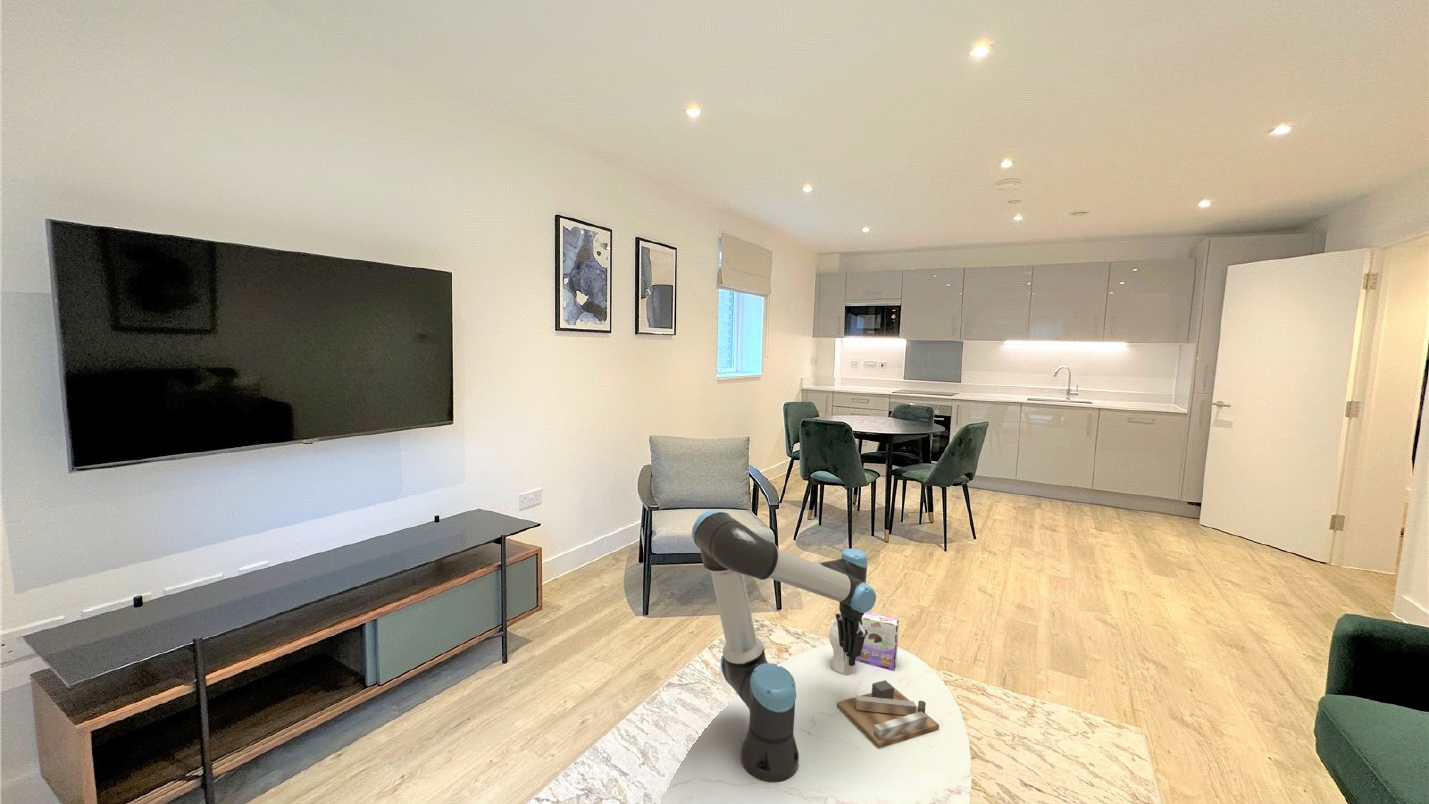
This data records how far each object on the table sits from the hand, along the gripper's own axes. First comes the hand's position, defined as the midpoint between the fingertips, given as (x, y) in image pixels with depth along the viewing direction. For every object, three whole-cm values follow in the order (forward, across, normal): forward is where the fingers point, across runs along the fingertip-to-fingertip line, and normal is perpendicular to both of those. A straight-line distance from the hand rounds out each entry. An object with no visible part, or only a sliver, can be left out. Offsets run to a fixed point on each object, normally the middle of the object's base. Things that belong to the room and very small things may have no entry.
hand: (848, 673), depth 172 cm
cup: (+9, +15, -9) cm, 20 cm away
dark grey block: (+7, -6, -8) cm, 12 cm away
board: (+9, -12, -5) cm, 15 cm away
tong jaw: (+7, -11, -5) cm, 14 cm away
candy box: (+9, +14, -22) cm, 28 cm away
